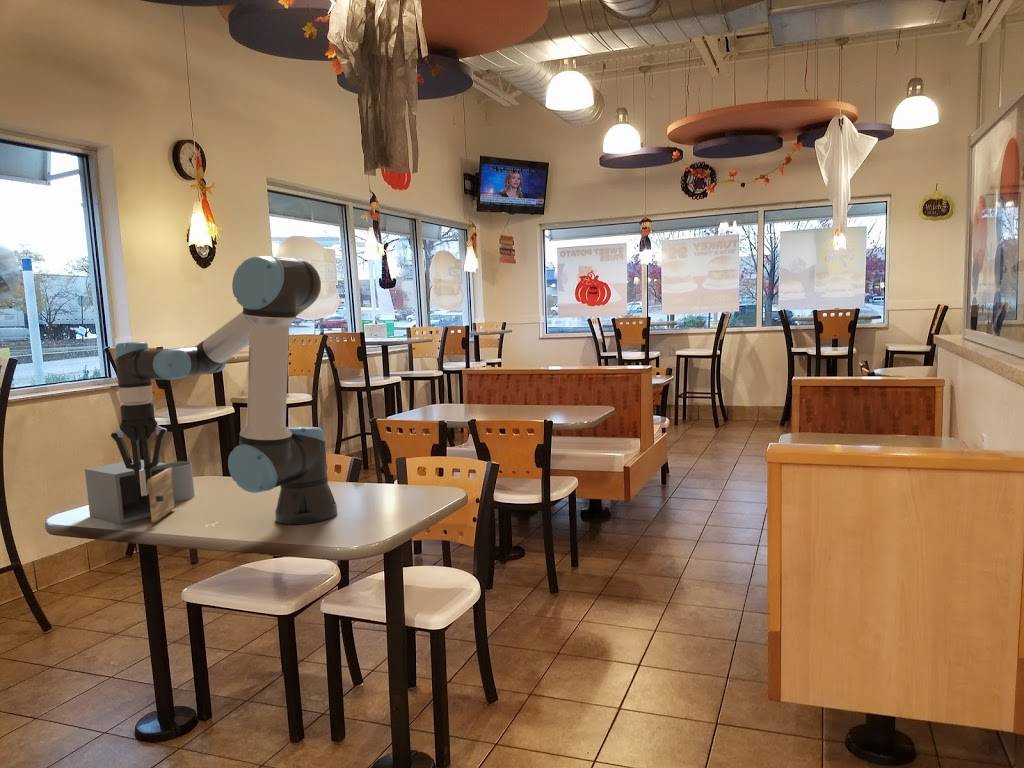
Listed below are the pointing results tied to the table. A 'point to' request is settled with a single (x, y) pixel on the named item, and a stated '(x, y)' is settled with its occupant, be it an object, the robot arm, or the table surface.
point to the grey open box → (117, 493)
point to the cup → (182, 480)
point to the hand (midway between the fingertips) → (145, 494)
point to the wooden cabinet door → (161, 494)
